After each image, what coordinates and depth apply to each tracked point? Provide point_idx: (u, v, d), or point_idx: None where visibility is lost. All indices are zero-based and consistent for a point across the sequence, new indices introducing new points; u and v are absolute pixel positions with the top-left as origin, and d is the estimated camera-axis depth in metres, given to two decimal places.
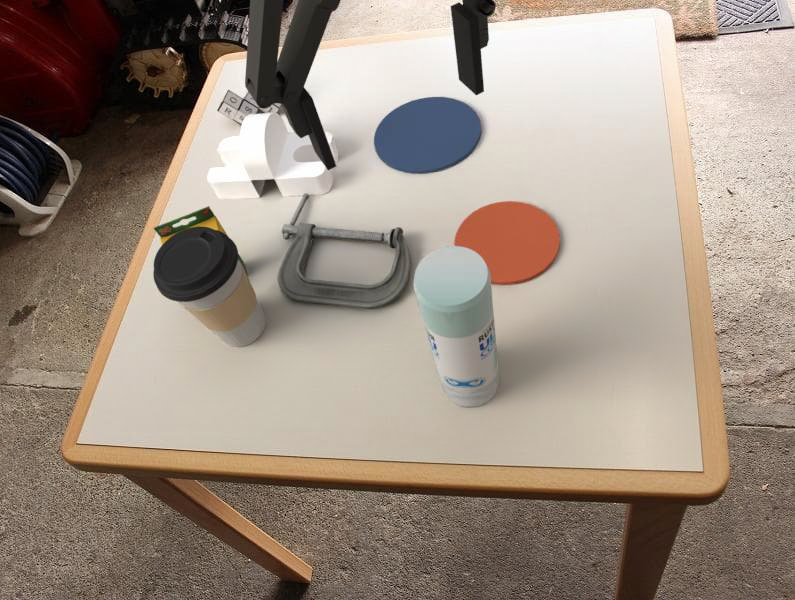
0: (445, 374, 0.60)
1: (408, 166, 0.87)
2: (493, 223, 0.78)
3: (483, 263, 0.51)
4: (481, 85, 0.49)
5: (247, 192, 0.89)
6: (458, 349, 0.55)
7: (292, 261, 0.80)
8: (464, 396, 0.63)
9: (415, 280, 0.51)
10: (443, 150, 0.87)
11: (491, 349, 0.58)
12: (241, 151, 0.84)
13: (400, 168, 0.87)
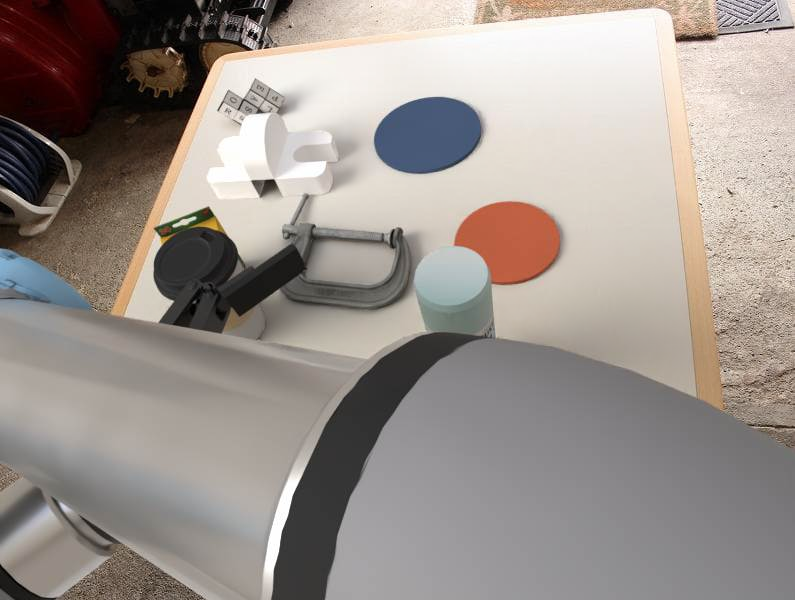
0: None
1: (408, 166, 0.87)
2: (493, 223, 0.78)
3: (483, 263, 0.51)
4: (286, 249, 0.47)
5: (247, 192, 0.89)
6: None
7: None
8: None
9: (415, 280, 0.51)
10: (443, 150, 0.87)
11: None
12: (241, 151, 0.84)
13: (400, 168, 0.87)
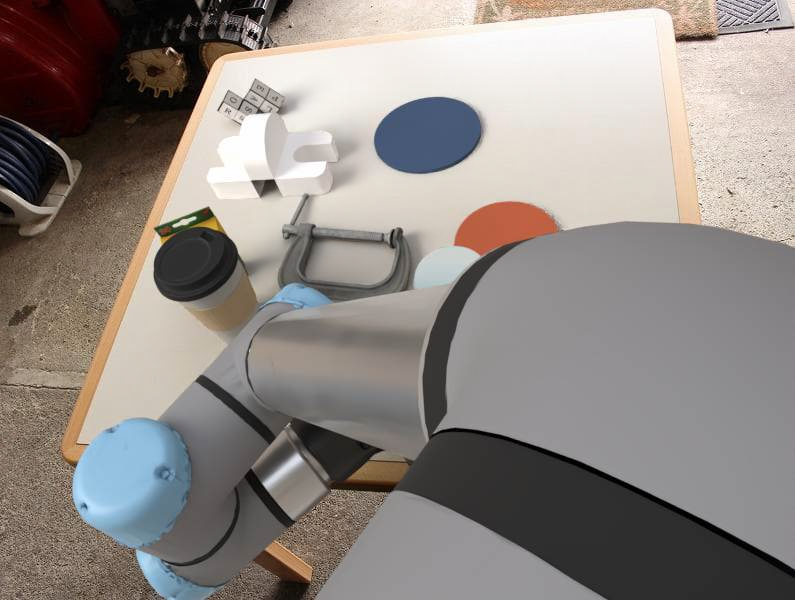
0: None
1: (408, 166, 0.87)
2: (493, 223, 0.78)
3: None
4: None
5: (247, 192, 0.89)
6: None
7: (292, 261, 0.80)
8: None
9: (415, 280, 0.51)
10: (443, 150, 0.87)
11: None
12: (241, 151, 0.84)
13: (400, 168, 0.87)
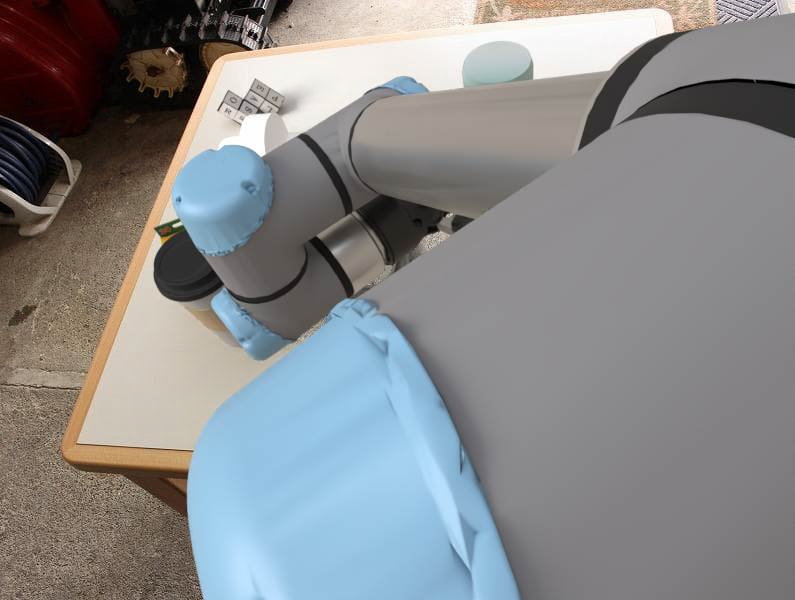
0: None
1: None
2: None
3: (526, 51, 0.56)
4: None
5: None
6: None
7: None
8: None
9: (464, 67, 0.56)
10: None
11: None
12: None
13: None
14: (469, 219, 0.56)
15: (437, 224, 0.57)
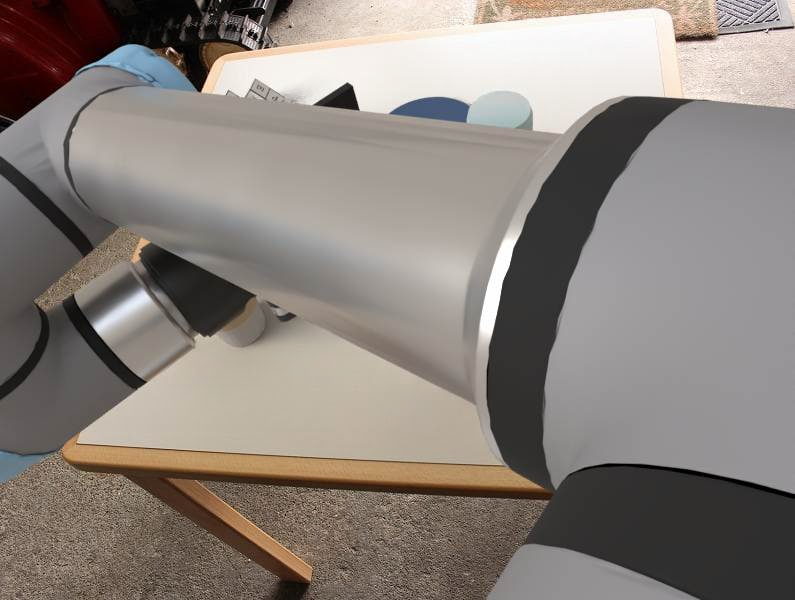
0: None
1: None
2: None
3: (526, 101, 0.60)
4: (342, 87, 0.49)
5: None
6: None
7: None
8: None
9: (469, 116, 0.61)
10: None
11: None
12: None
13: None
14: None
15: None
